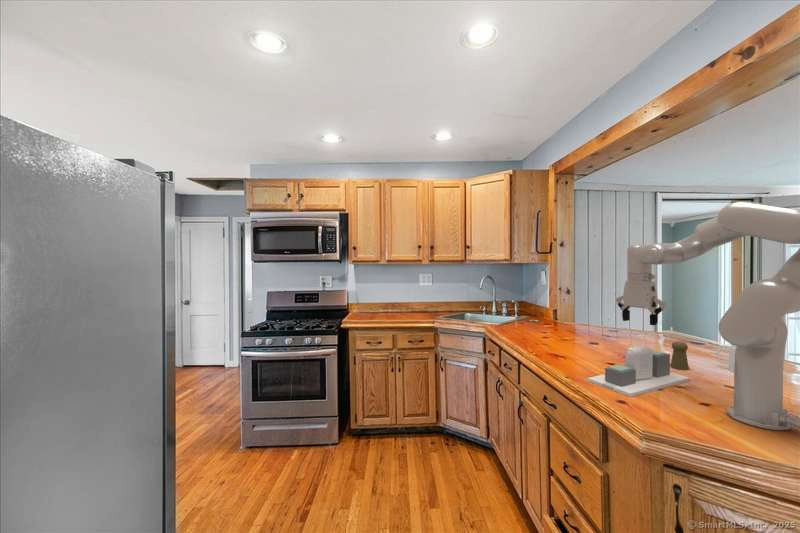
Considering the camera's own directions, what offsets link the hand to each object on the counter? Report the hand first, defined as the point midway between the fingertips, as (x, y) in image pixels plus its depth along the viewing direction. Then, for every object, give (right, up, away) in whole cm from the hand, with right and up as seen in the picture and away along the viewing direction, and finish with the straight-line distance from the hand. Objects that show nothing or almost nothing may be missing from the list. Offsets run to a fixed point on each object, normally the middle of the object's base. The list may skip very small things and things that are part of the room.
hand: (639, 322), depth 125 cm
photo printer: (0, -21, 0) cm, 21 cm away
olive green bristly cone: (+28, -22, +15) cm, 38 cm away
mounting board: (0, -22, +1) cm, 22 cm away
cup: (+47, -22, +10) cm, 53 cm away
